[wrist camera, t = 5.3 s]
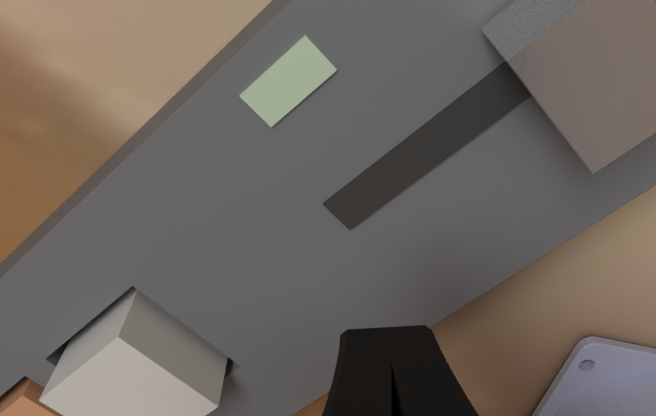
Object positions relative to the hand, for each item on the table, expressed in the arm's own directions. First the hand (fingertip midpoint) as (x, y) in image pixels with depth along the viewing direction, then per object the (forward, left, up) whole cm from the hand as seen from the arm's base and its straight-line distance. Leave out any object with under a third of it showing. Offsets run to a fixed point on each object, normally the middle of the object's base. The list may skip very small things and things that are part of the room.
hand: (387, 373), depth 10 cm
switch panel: (-4, +3, -8) cm, 10 cm away
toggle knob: (+5, -3, -6) cm, 8 cm away
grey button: (-7, +5, -7) cm, 11 cm away
